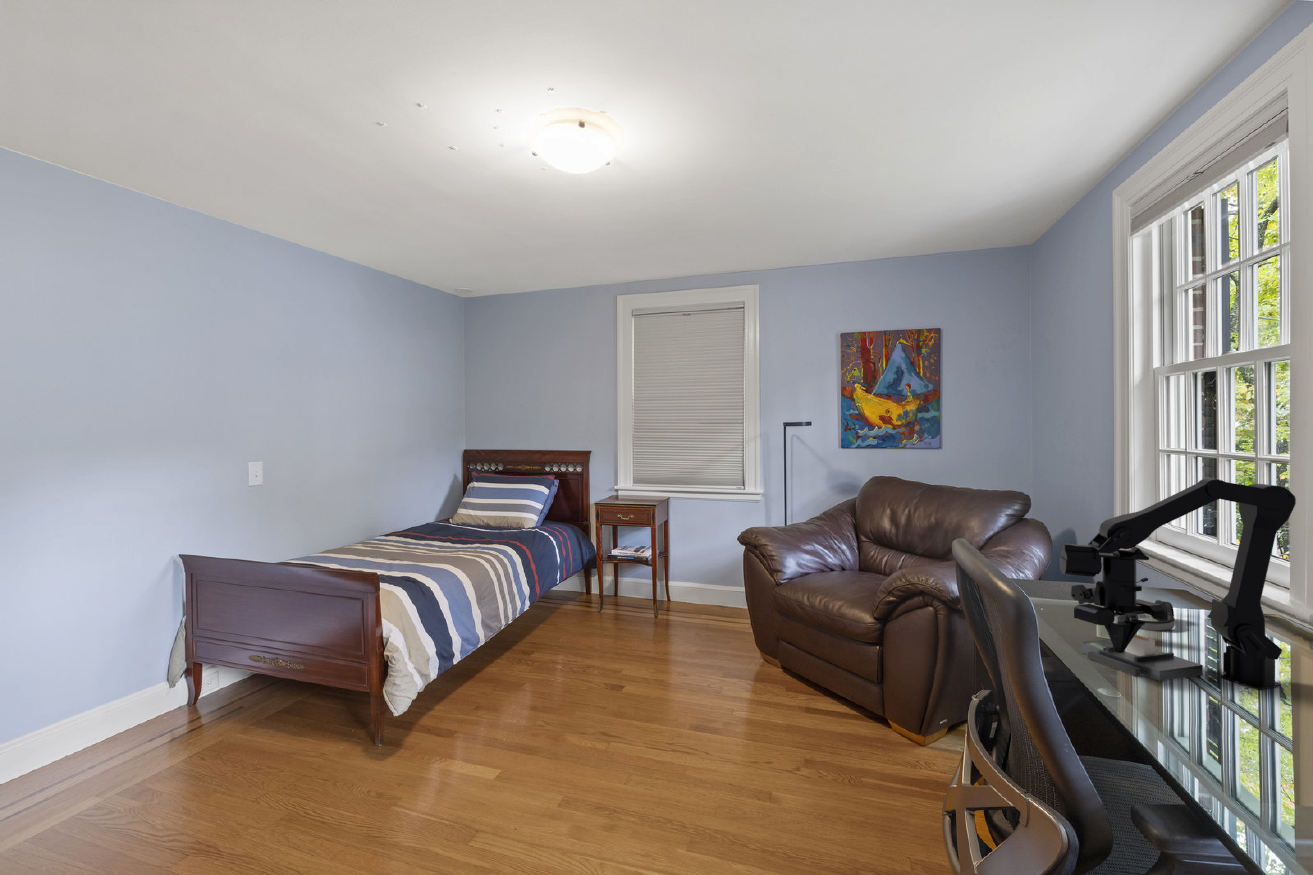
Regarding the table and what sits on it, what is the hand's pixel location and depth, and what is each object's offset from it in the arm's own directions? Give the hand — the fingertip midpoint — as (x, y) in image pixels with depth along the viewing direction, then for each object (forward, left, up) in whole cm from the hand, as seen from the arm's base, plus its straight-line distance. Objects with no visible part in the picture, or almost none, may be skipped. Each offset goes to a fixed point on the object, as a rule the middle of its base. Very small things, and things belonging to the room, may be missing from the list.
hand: (1119, 652), depth 125 cm
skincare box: (+14, -17, -3) cm, 22 cm away
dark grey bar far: (+10, -8, -3) cm, 13 cm away
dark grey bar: (0, +2, -3) cm, 3 cm away
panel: (0, -6, -3) cm, 7 cm away
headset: (+23, -38, -3) cm, 44 cm away
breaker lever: (0, -6, -1) cm, 6 cm away
